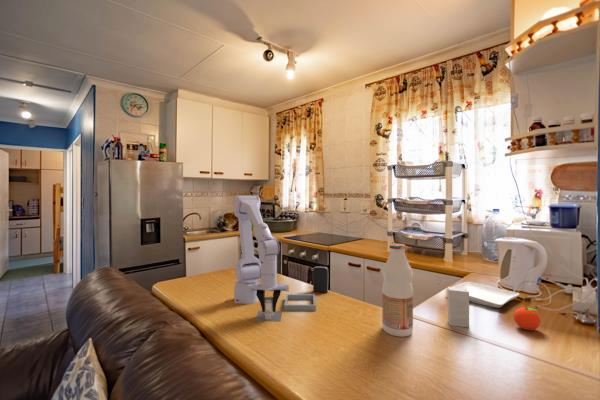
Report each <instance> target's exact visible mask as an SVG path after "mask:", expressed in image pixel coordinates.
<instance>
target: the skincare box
mask: <svg viewBox="0 0 600 400" xmlns="http://www.w3.org/2000/svg"><path fill="white" fill-rule="evenodd" d="M446 289H447V291H446V292H447V321H448V324H449V326H453V327H454V326H455V327H462V328H470V301H469V292H468V290H467V289H466V288H456V287H453V286H447V288H446Z"/></svg>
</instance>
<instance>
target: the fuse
mask: <svg viewBox="0 0 600 400" xmlns="http://www.w3.org/2000/svg"><path fill="white" fill-rule="evenodd" d="M264 304H265V312H264V316H265V313H271V317H273V316H274V312H273V296H265V298H264Z"/></svg>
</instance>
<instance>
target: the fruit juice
mask: <svg viewBox="0 0 600 400" xmlns="http://www.w3.org/2000/svg"><path fill="white" fill-rule="evenodd" d="M406 248H407V246H406V244H405V243H390V244H389V250H390V252H389V255H388V258H387V260H386V262H385V265H384V266H383V269H382V274H383V279H384V280H383V283H382V292H381V293H382V295H381V297H382V299H381V300H382V303H381V304H382V309H381V310H382V322H381V324H382V326H381V327H382V329H383V331H384V332H385V333H386V334H388V335H391V336H395V337H409V336H411V335H412V333H413V331H414V330H413V329H414V288H413V284H412V280H413V279H412V278H413V276H414V275H413V269H412V267H411V265H410V263H409V261H408V259H407V258H408V257H407V255H406V253H405V252H406Z"/></svg>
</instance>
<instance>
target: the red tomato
mask: <svg viewBox="0 0 600 400" xmlns="http://www.w3.org/2000/svg"><path fill="white" fill-rule="evenodd" d="M539 311H540V310H539ZM539 311H538V310H537V309H534V308H531V307H524V306H523V307H519V308H517V309H516V310H515V311H514V313H513V320H514V322H515V323H516V325H517V326H518V327H520V328H521V329H524V330H527V331H534V330H537V329H538V328H539V327H540V325H541V317H540V316H539V314H538V312H539ZM539 313H540V312H539ZM540 314H541V316H542V317H543V314H542V313H540Z"/></svg>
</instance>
